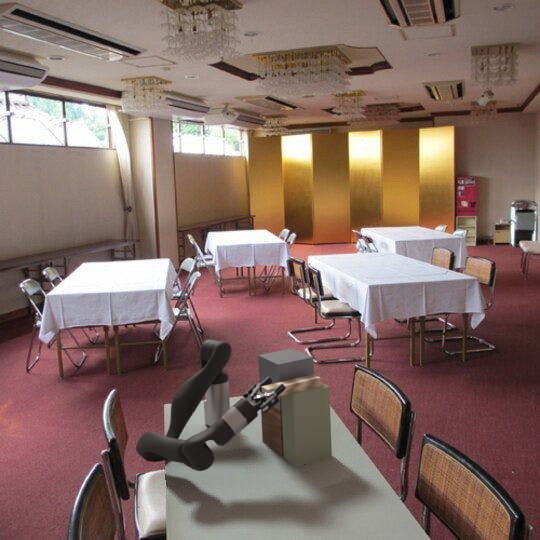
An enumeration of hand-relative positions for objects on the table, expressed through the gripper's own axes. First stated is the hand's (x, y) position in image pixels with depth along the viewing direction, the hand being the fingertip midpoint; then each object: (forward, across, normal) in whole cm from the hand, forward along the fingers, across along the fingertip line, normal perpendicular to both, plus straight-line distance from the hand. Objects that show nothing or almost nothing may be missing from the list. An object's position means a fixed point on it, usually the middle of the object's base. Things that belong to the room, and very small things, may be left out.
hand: (277, 382), depth 183 cm
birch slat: (+3, 0, -6) cm, 7 cm away
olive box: (-5, 0, -29) cm, 30 cm away
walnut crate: (-5, -12, -29) cm, 32 cm away
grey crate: (+3, -12, -16) cm, 20 cm away
